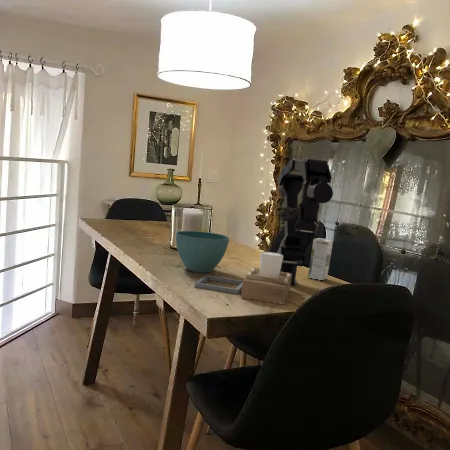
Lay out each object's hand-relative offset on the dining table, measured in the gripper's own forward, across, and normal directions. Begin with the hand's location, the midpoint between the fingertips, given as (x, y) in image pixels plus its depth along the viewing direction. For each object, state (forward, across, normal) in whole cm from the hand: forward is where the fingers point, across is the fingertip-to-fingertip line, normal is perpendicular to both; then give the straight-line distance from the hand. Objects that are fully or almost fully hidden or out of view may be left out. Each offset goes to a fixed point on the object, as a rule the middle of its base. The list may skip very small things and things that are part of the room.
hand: (303, 251), depth 147 cm
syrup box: (+13, -28, +5) cm, 31 cm away
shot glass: (+8, +7, -9) cm, 14 cm away
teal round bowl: (+13, -11, -35) cm, 39 cm away
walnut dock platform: (+13, +7, -9) cm, 17 cm away
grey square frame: (+13, +7, -23) cm, 27 cm away
